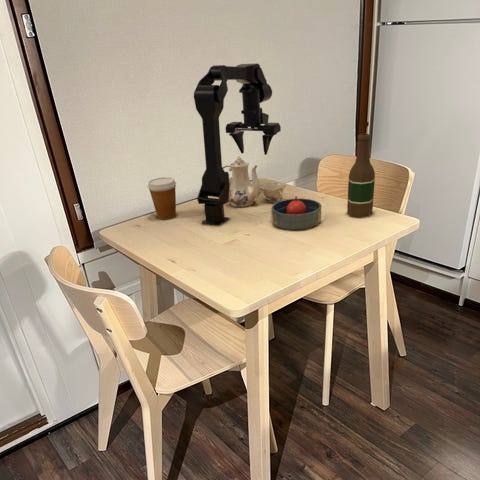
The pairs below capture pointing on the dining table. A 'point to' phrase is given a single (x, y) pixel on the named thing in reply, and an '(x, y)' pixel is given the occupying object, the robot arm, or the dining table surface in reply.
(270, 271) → the dining table surface
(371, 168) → the beer bottle
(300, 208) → the apple
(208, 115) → the robot arm
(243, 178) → the chinaware
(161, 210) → the disposable coffee cup
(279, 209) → the bowl
